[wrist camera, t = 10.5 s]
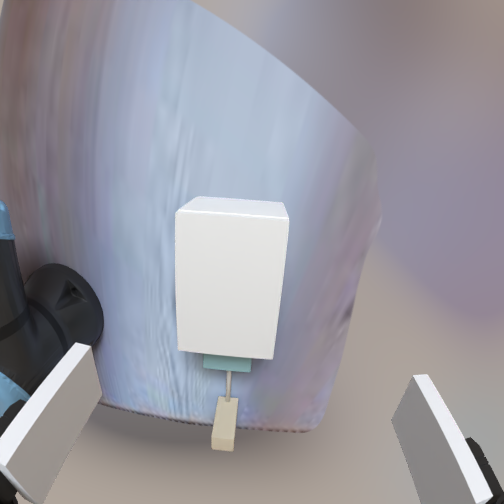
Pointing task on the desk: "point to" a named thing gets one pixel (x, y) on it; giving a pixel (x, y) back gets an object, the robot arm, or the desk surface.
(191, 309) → the white open box
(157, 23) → the desk surface
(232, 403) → the tethered block
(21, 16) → the desk surface
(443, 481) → the robot arm
